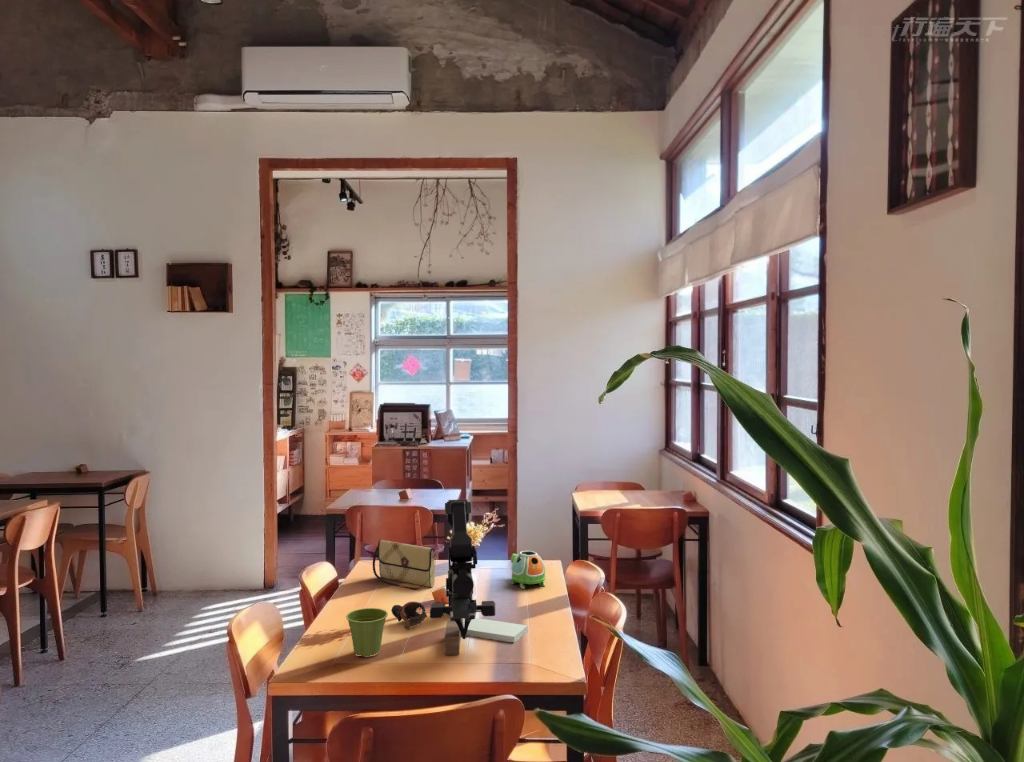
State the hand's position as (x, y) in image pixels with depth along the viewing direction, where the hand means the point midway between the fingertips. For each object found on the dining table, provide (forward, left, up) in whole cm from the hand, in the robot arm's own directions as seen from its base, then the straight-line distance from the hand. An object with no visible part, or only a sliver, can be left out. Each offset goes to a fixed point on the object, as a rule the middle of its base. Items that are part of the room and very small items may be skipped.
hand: (464, 638), depth 213 cm
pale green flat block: (+1, +15, -3) cm, 15 cm away
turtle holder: (-9, +65, -3) cm, 66 cm away
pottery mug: (-26, +12, -4) cm, 29 cm away
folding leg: (-5, +2, -3) cm, 6 cm away
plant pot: (-25, -13, -3) cm, 28 cm away
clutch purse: (-52, +47, -4) cm, 70 cm away
